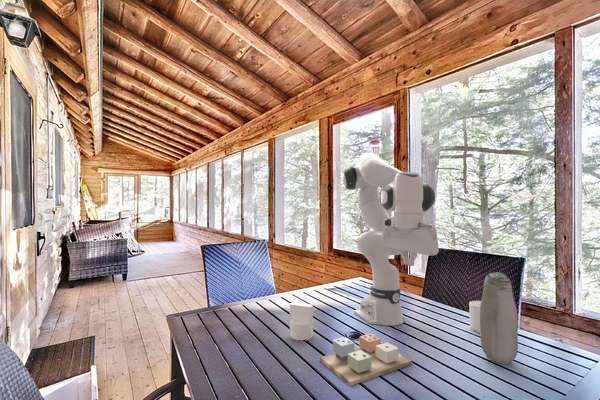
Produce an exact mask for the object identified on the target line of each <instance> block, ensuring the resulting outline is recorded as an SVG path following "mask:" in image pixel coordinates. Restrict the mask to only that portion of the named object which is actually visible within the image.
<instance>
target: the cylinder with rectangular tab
mask: <svg viewBox="0 0 600 400" xmlns="http://www.w3.org/2000/svg"><path fill="white" fill-rule="evenodd" d="M313 305H314V304H310V303H304V302H295V301H293V302H290V303H289V337H290V336H291V337H292V338H293V339H292V338H291V337H290V338H291V339H292V340H294V339H297V340H296V341H298V340H305V339H309V338H311V337H312V336H313V337H314V307H313ZM313 337H312V338H313ZM312 338H311V339H312ZM309 340H310V339H309ZM305 341H306V340H305Z"/></svg>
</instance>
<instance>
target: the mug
mask: <svg viewBox="0 0 600 400" xmlns="http://www.w3.org/2000/svg"><path fill="white" fill-rule="evenodd" d="M480 304H481V300H472V301H469V303H468V306H469V307H468V308H469V327H470V330H472V331H473V332H476V333H478V334H479V333H480Z"/></svg>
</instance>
